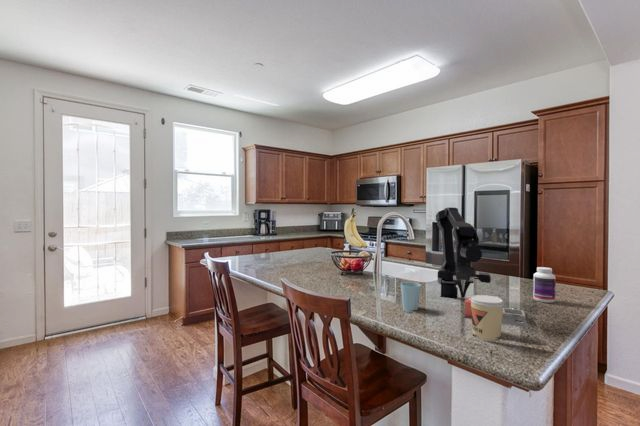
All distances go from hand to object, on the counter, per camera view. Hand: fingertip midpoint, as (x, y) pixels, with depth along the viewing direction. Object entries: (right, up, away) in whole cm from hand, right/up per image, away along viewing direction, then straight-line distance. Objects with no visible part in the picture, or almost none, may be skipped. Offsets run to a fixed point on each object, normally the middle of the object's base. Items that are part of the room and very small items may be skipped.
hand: (463, 297), depth 128 cm
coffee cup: (-4, -6, -25) cm, 26 cm away
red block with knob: (-1, -4, -8) cm, 9 cm away
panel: (+8, -6, -7) cm, 12 cm away
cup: (-21, -5, -1) cm, 22 cm away
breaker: (+12, -4, 0) cm, 12 cm away
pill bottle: (+42, -6, +15) cm, 45 cm away
